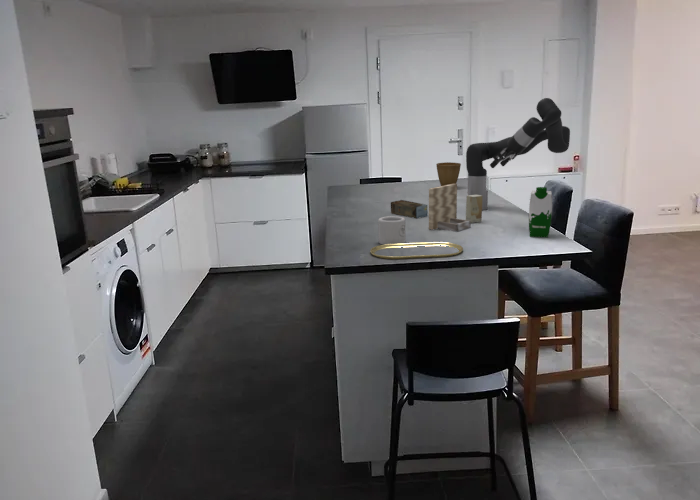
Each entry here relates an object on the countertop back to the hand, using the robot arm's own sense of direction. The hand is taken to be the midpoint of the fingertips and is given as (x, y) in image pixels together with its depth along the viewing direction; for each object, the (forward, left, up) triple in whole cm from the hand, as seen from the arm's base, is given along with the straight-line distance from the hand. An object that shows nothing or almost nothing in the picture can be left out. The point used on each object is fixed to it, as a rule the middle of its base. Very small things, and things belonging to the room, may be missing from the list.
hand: (496, 165), depth 257 cm
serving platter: (+50, +32, -27) cm, 65 cm away
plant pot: (-23, -102, -26) cm, 108 cm away
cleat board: (+20, -1, -26) cm, 33 cm away
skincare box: (+6, -9, -27) cm, 29 cm away
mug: (+53, +14, -27) cm, 60 cm away
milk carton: (-6, +26, -27) cm, 37 cm away
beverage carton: (+27, -37, -27) cm, 53 cm away
